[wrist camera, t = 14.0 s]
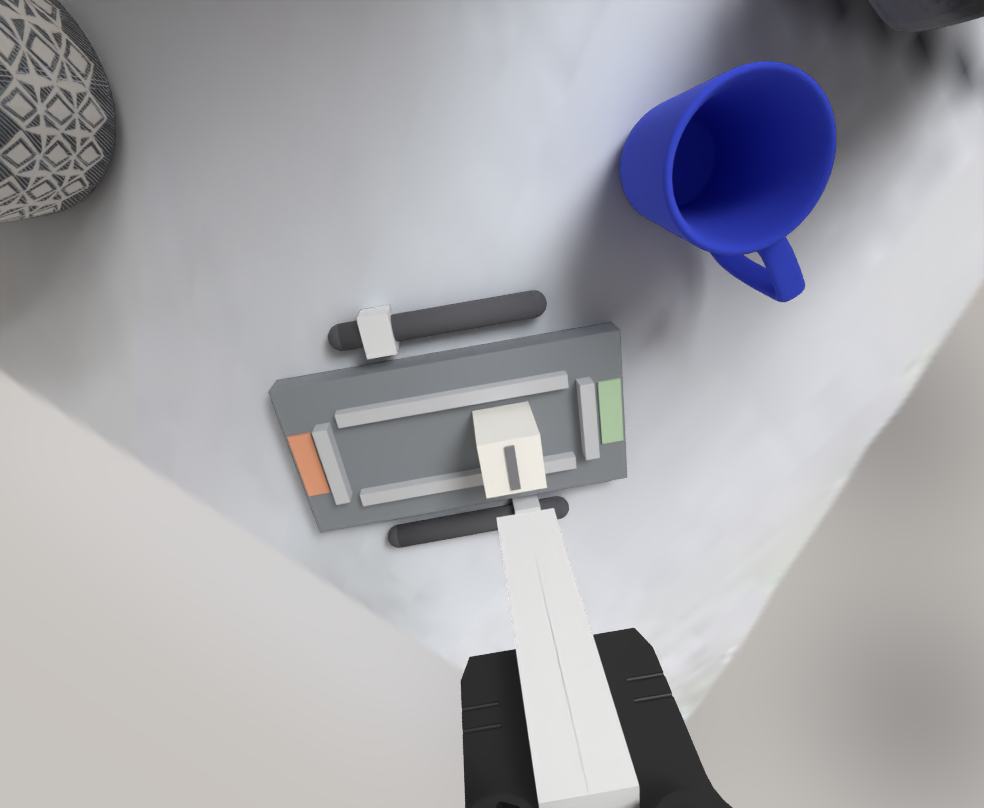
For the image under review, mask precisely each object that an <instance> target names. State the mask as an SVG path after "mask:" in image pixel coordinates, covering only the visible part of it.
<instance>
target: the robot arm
mask: <svg viewBox="0 0 984 808" xmlns="http://www.w3.org/2000/svg"><path fill="white" fill-rule="evenodd" d="M496 519H497V525H498V532H499V539H500V546H501V552H502V559H503V566H504V573H505V580H506V586H507V593H508V600H509V607H510V613H511V620H512V627H513V634H514V641H515V647H516V649H514V650H508V651H502V652H496V653H490V654H484V655H479V656H473V657H469V660H468V663H467V666H466V668H465V671H464V674H463V677H462V679H461V701H462V728H463V755H464V782H465V808H732V807H731V806H730V805H729V804H727V803H726V802H725V801H724V800H723V799H722V798H721V796H720V795H719V794H718V793H717V792H716V790H715V789H714V788H713V786H712V784H711V782H710V781H709V779H708V777H707V775H706V773H705V771H704V768H703V766H702V764H701V761H700V759H699V756H698V754H697V751H696V749H695V747H694V745H693V742H692V740H691V737H690V735H689V732H688V730H687V728H686V725H685V723H684V720H683V718H682V716H681V713H680V711H679V708H678V706H677V704H676V701H675V699H674V697H673V696H672V692H671V689H670V687H669V685H668V682H667V680H666V677H664V674H663V670H662V668H661V666H660V663H659V661H658V658H657V656H656V654H655V651H654V649H653V647H652V646H651V645H650V644H649V643H648V642H647V641H646V639H645V638H644V637H643V636H642V635H641V634H640V633H639V632H638V631H637V630H636V629H635V628H630V629H624V630H618V631H612V632H606V633H601V634H595V635H593V634H592V631H591V627H590V624H589V621H588V618H587V614H586V611H585V608H584V605H583V601H582V598H581V595H580V592H579V588H578V585H577V582H576V579H575V575H574V572H573V569H572V566H571V562H570V559H569V556H568V553H567V549H566V546H565V543H564V540H563V536H562V533H561V530H560V527H559V523H558V520H557V517H556V514H555V510H554V508H551V509H545V510H539V511H533V512H527V513H521V514H515V515H509V516H503V517H497V518H496Z"/></svg>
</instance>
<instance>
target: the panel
mask: <svg viewBox="0 0 984 808" xmlns="http://www.w3.org/2000/svg"><path fill="white" fill-rule="evenodd" d="M269 395H270V397H271V400H272V403H273V405H274V408H275V411H276V414H277V416H278V419H279V422H280V424H281V427H282V430H283V433H284V435H285V438H286V441H287V443H288V446H289V449H290V452H291V454H292V457H293V460H294V462H295V465H296V468H297V471H298V473H299V476H300V479H301V481H302V484H303V487H304V489H305V492H306V495H307V498H308V500H309V503H310V506H311V508H312V511H313V514H314V517H315V519H316V522H317V525H318V527H319V530H320V533H321V532H326V531H332V530H337V529H343V528H348V527H354V526H360V525H365V524H371V523H376V522H382V521H387V520H393V519H399V518H404V517H410V516H415V515H421V514H427V513H432V512H438V511H443V510H449V509H454V508H460V507H466V506H471V505H477V504H482V503H488V502H494V501H499V500H505V499H510V498H516V497H521V496H527V495H533V494H538V493H544V492H549V491H555V490H560V489H566V488H572V487H577V486H583V485H588V484H594V483H600V482H605V481H611V480H616V479H622V478H627V462H626V442H625V421H624V401H623V380H622V360H621V339H620V330H619V329H618V328H617V327H616V326H615V325H614V324H613V323H612V322H608V323H602V324H596V325H591V326H585V327H579V328H573V329H568V330H562V331H556V332H551V333H545V334H539V335H533V336H528V337H522V338H516V339H510V340H505V341H499V342H493V343H488V344H482V345H476V346H470V347H465V348H459V349H453V350H447V351H442V352H436V353H430V354H425V355H419V356H413V357H407V358H402V359H396V360H390V361H384V362H379V363H373V364H367V365H362V366H356V367H350V368H344V369H339V370H333V371H327V372H321V373H316V374H310V375H304V376H299V377H293V378H287V379H281V380H277V381H276V382H275V383H274V385H273V386H272V387H271V389H270V390H269ZM526 401H528V402H529V405H530V408H531V411H532V413H533V416H534V419H535V422H536V424H537V427H538V430H539V433H540V437H541V445H542V453H543V461H544V468H545V476H546V484H547V488H543V489H537V490H531V491H526V492H520V493H515V494H509V495H503V496H498V497H492V498H486V493H485V487H484V482H483V477H482V472H481V466H480V461H479V456H478V451H477V445H476V437H475V429H474V421H473V413H472V411H475V410H481V409H486V408H492V407H498V406H503V405H509V404H515V403H520V402H526Z"/></svg>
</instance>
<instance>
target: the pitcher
mask: <svg viewBox="0 0 984 808" xmlns="http://www.w3.org/2000/svg"><path fill="white" fill-rule="evenodd" d="M868 1H869V3H870V4H871V5H872V7H873V8H874V10H875V11H876V12H877V14H878V15H879V16H880V18H881V19H882V20H883V21H884V22H885V23H886V24H887V25H888V26H889V27H890V28H891V29H893V30H898V31H905V32H919V31H925V30H931V29H937V28H941V27H946V26H950V25H954V24H959V23H963V22H966V21H970V20H973V19H977V18H980V17H984V0H868Z"/></svg>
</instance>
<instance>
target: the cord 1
mask: <svg viewBox="0 0 984 808" xmlns="http://www.w3.org/2000/svg"><path fill="white" fill-rule="evenodd" d="M546 305H547V302H546V299H545V297H544V295H543V294H542V293H540V292H539V291H534V290H533V291H526V292H520V293H514V294H509V295H503V296H497V297H491V298H486V299H480V300H474V301H468V302H462V303H457V304H451V305H445V306H439V307H434V308H428V309H422V310H416V311H411V312H405V313H399V314H392V310H391V306H390V305H385V306H379V307H374V308H368V309H362V310H360V312H359V314H358V316H357V318H356V320H357V321H353V322H347V323H341V324H337V325H335V326H333V327H332V328H331V329H330V331H329V334H328V340H329V342H330V344H331V346H332V347H334V348H335V349H337V350H340V351H345V350H351V349H357V348H362V347H364V349H365V353H366V357H367V359H373V358H378V357H384V356H390V355H396V354H397V353H398V348H399V341H403V340H408V339H414V338H420V337H426V336H431V335H437V334H443V333H449V332H454V331H460V330H466V329H472V328H477V327H483V326H489V325H495V324H500V323H506V322H512V321H518V320H523V319H529V318H535V317H538V316H540V315H541V314H543V312H544V311H545V309H546Z"/></svg>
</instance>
